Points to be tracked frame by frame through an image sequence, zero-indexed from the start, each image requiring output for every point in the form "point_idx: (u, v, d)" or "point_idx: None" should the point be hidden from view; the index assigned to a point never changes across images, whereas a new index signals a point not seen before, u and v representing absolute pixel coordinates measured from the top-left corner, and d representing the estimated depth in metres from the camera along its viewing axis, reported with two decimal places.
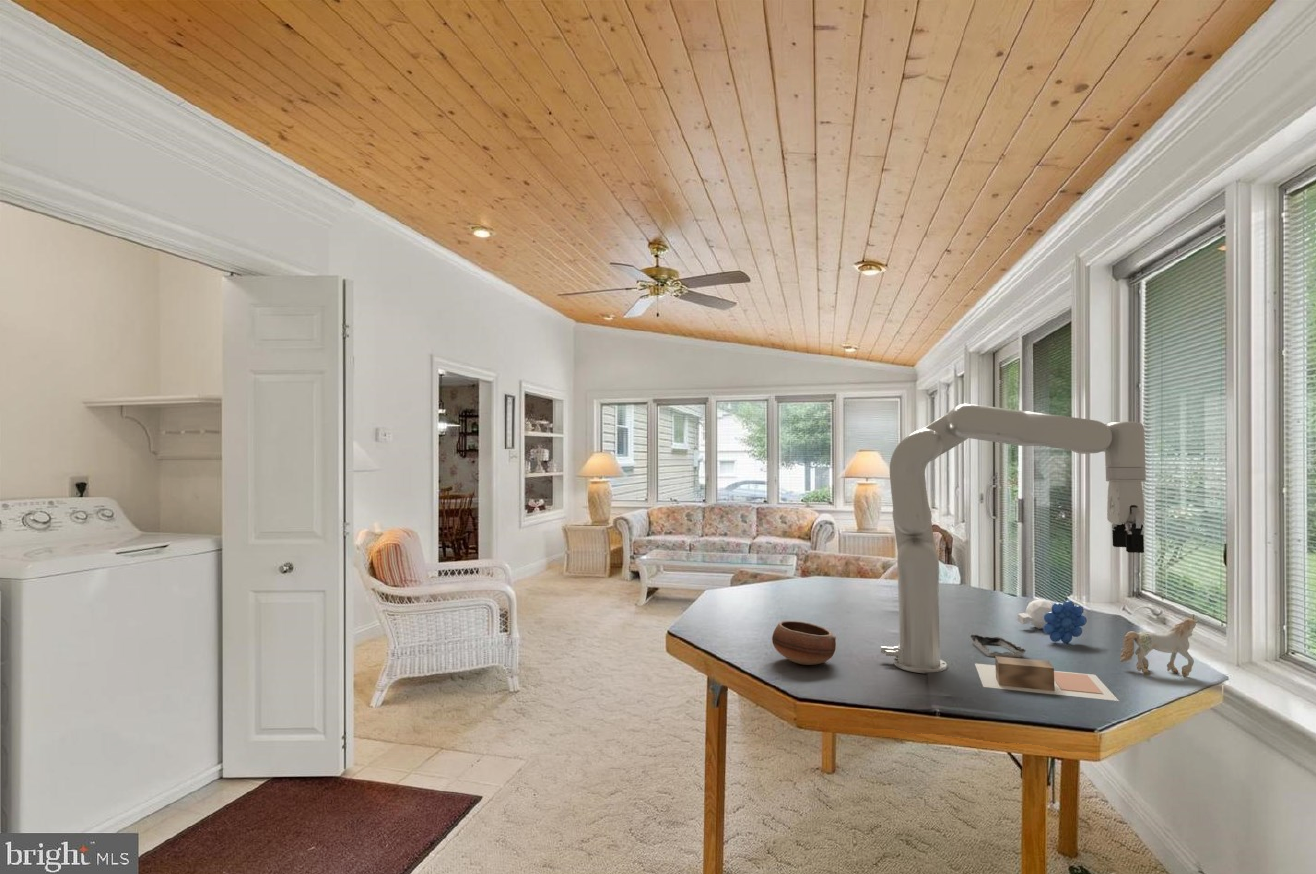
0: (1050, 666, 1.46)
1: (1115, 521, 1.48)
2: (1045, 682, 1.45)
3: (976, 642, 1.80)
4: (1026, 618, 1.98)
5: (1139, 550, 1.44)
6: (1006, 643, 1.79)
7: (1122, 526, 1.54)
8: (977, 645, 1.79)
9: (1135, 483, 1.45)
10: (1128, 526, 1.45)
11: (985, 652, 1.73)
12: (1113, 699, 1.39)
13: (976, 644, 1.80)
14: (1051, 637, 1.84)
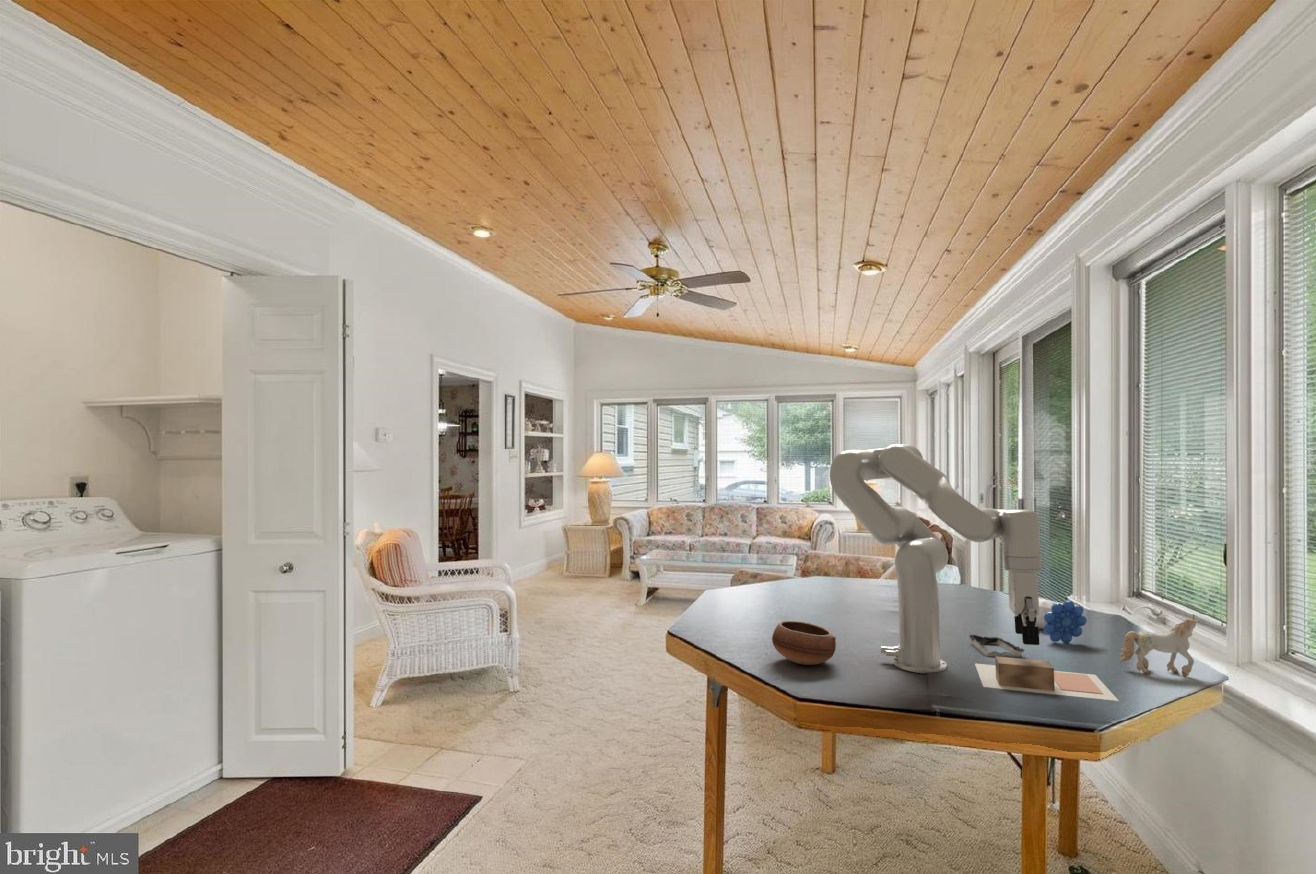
0: (1050, 666, 1.46)
1: (1013, 611, 1.48)
2: (1045, 682, 1.45)
3: (975, 642, 1.80)
4: None
5: (1035, 642, 1.43)
6: (1005, 643, 1.79)
7: None
8: (976, 645, 1.79)
9: (1029, 574, 1.45)
10: (1023, 618, 1.44)
11: (984, 652, 1.74)
12: (1113, 699, 1.39)
13: (975, 644, 1.80)
14: (1051, 637, 1.84)
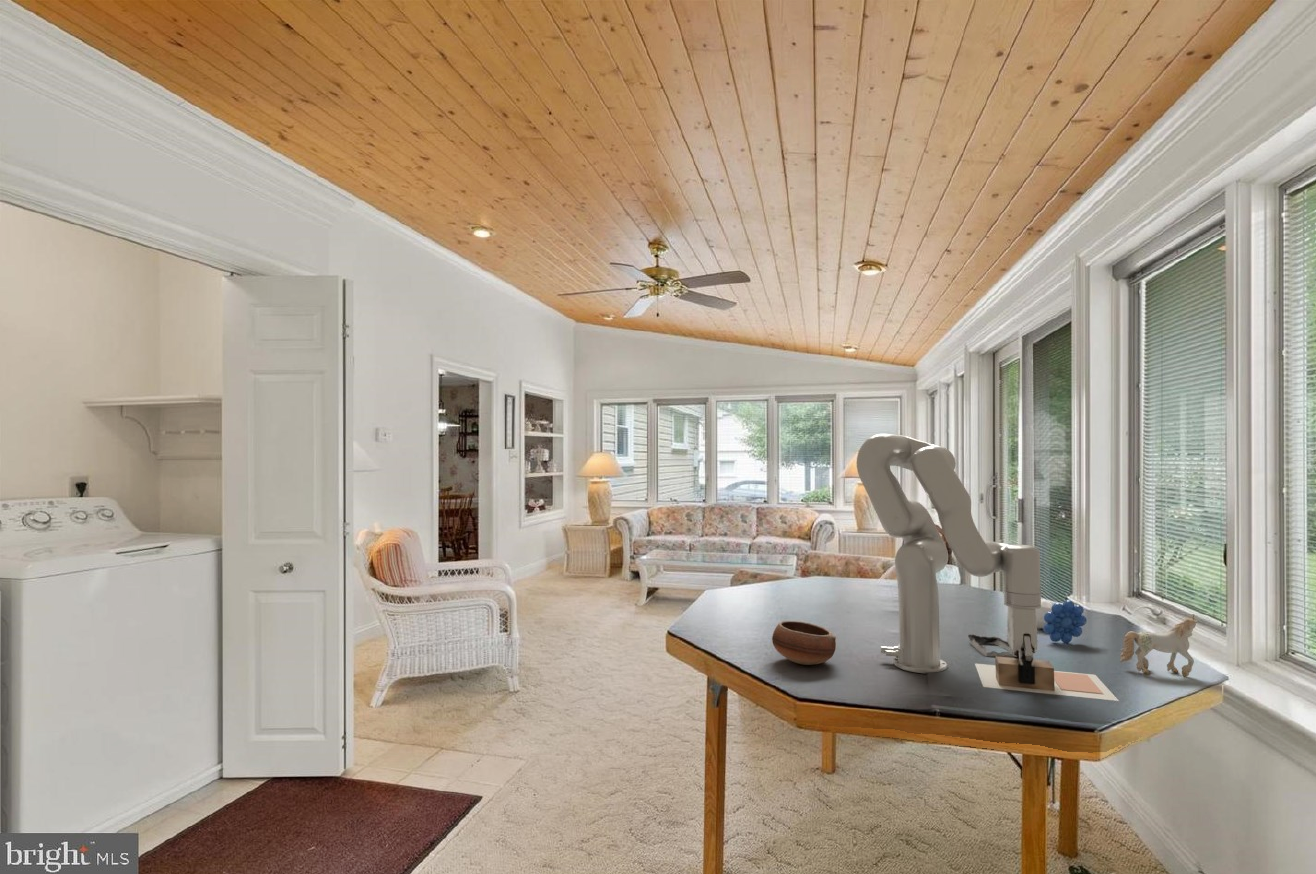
0: (1050, 666, 1.46)
1: (1011, 646, 1.48)
2: (1045, 682, 1.45)
3: (973, 642, 1.80)
4: None
5: (1030, 681, 1.45)
6: (1003, 643, 1.79)
7: (1023, 653, 1.52)
8: (975, 645, 1.79)
9: (1029, 611, 1.45)
10: (1020, 657, 1.46)
11: (982, 652, 1.74)
12: (1113, 699, 1.39)
13: (973, 644, 1.80)
14: (1051, 637, 1.84)
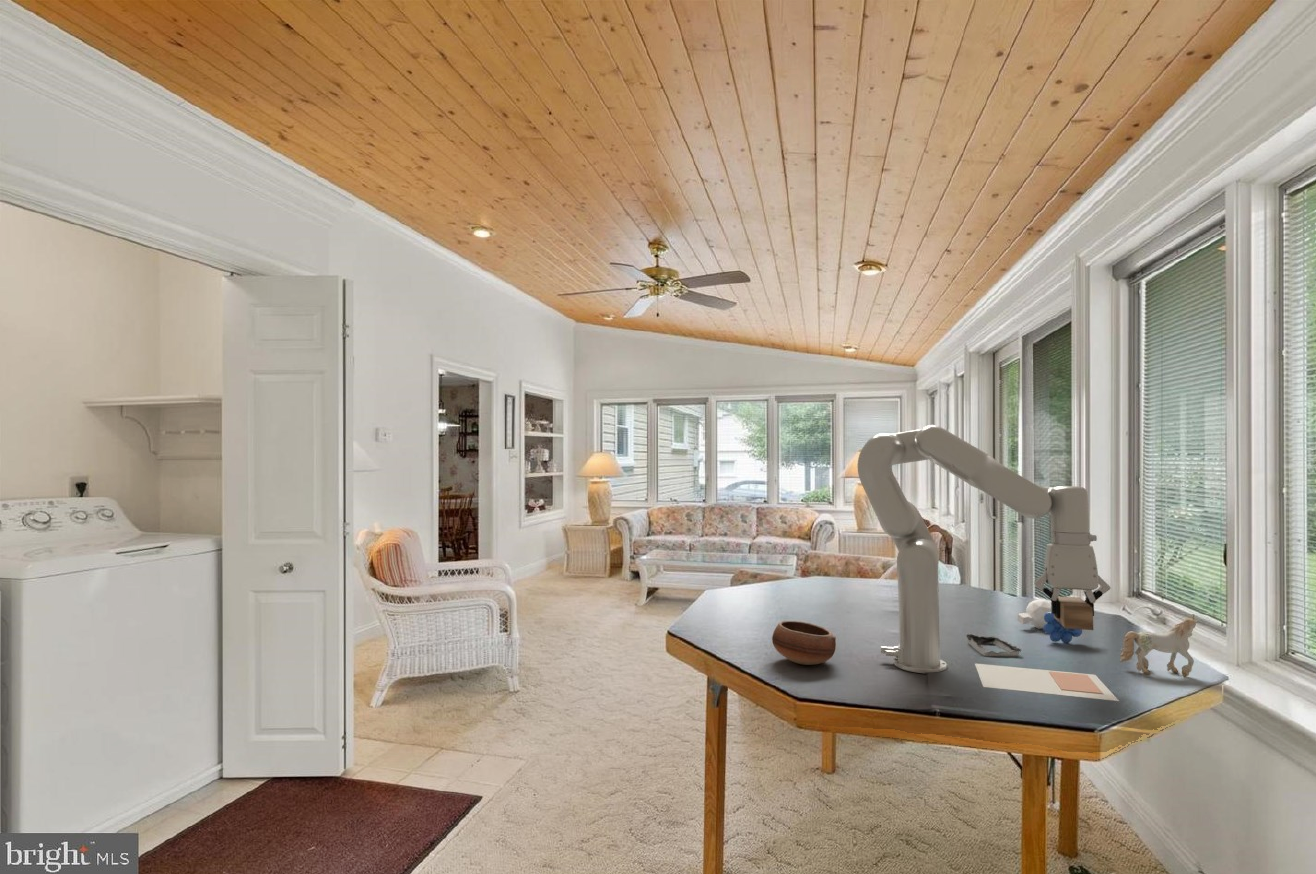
0: (1069, 605, 1.46)
1: None
2: (1062, 619, 1.47)
3: (972, 642, 1.80)
4: (1026, 618, 1.98)
5: (1056, 615, 1.50)
6: (1001, 643, 1.80)
7: None
8: (973, 645, 1.79)
9: (1049, 546, 1.51)
10: None
11: (981, 652, 1.74)
12: (1113, 699, 1.39)
13: (972, 644, 1.81)
14: (1051, 637, 1.84)
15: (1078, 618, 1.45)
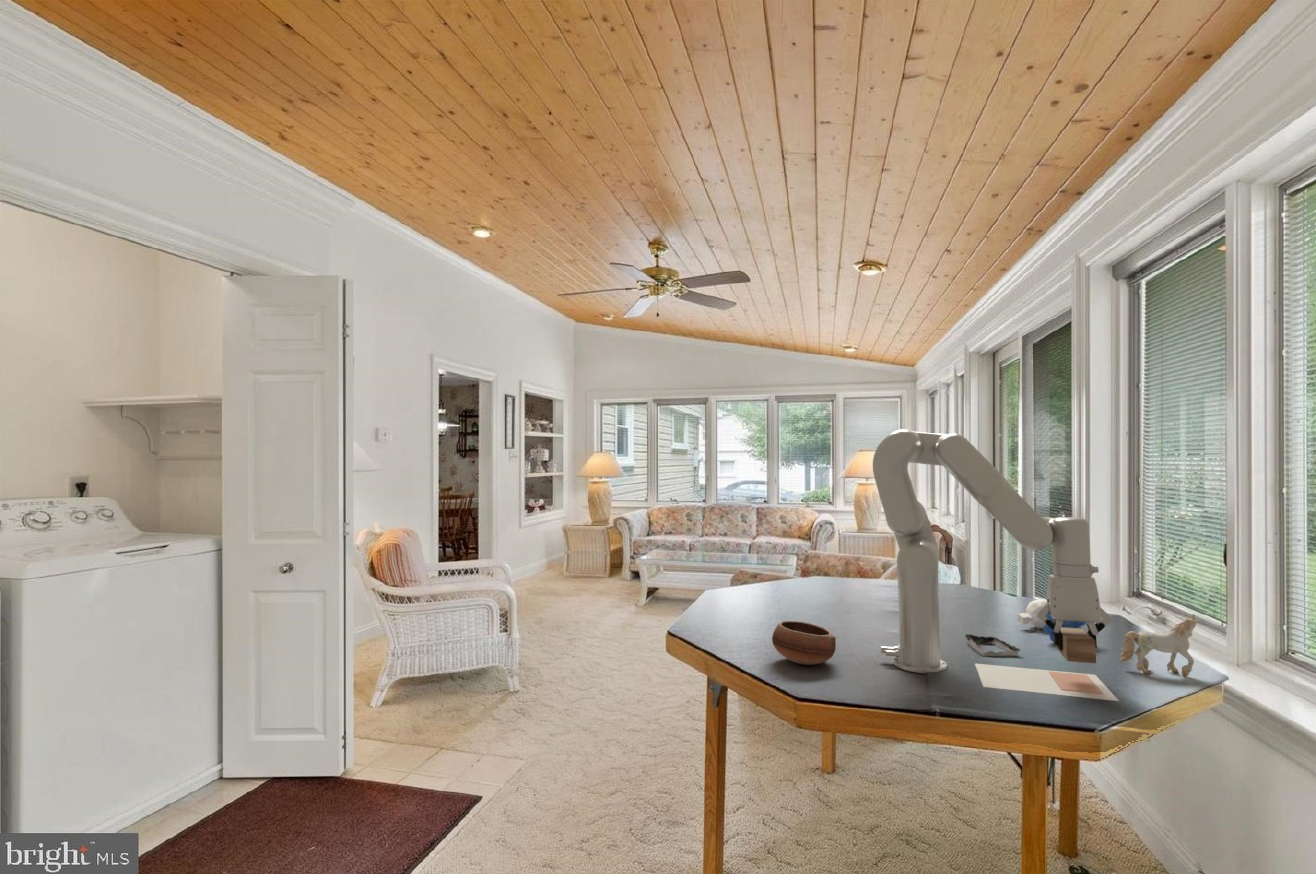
0: (1071, 638, 1.46)
1: None
2: (1065, 651, 1.47)
3: (971, 642, 1.81)
4: (1026, 618, 1.98)
5: (1059, 647, 1.50)
6: (1000, 643, 1.80)
7: (1090, 630, 1.48)
8: (972, 645, 1.80)
9: (1050, 578, 1.51)
10: None
11: (980, 652, 1.74)
12: (1113, 699, 1.39)
13: (971, 644, 1.81)
14: (1051, 637, 1.84)
15: (1081, 651, 1.44)
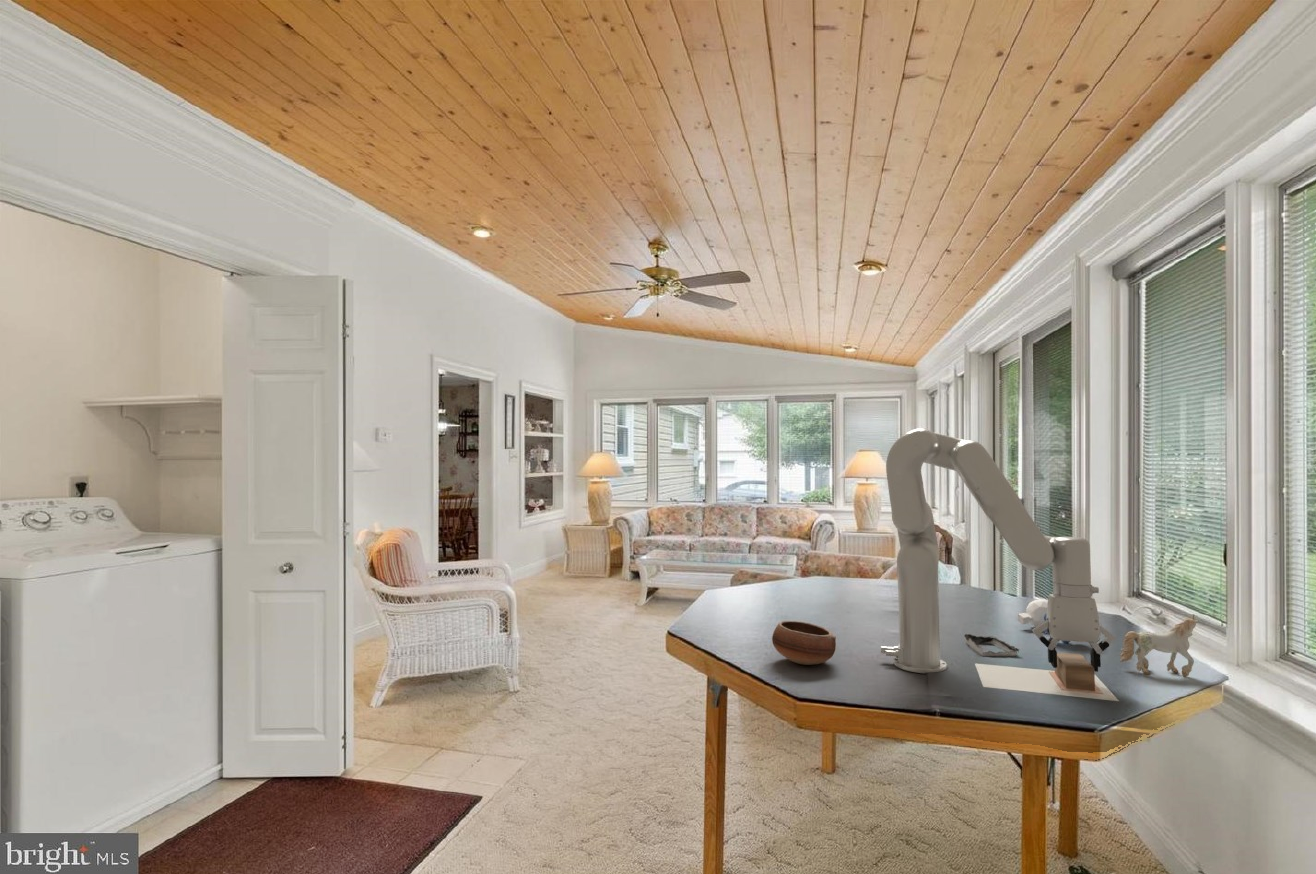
0: (1070, 665, 1.45)
1: None
2: (1064, 678, 1.47)
3: (970, 641, 1.81)
4: (1026, 618, 1.98)
5: (1053, 664, 1.50)
6: (999, 643, 1.80)
7: None
8: (971, 645, 1.80)
9: (1050, 597, 1.51)
10: (1048, 639, 1.53)
11: (979, 651, 1.74)
12: (1113, 699, 1.39)
13: (970, 643, 1.81)
14: None
15: (1079, 678, 1.44)
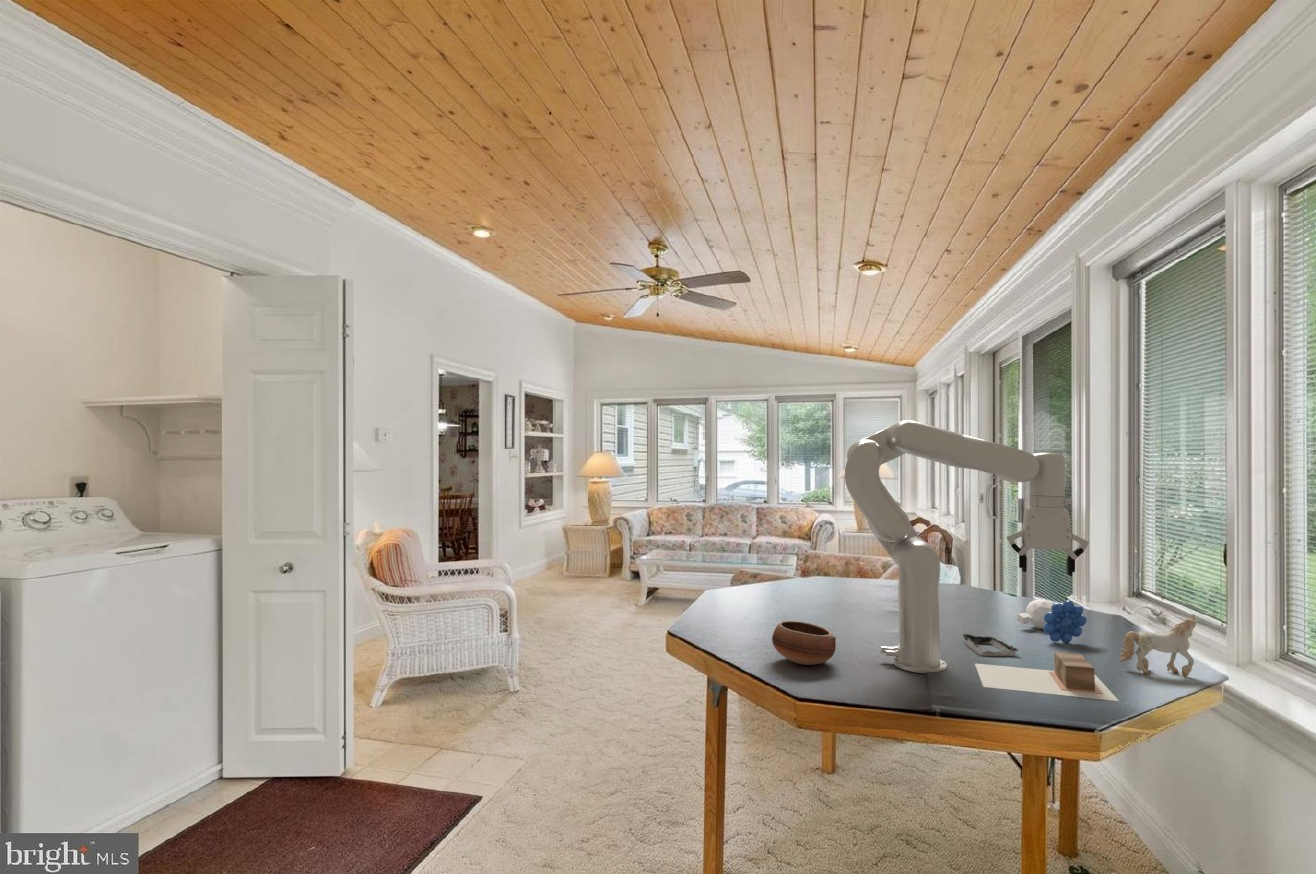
0: (1070, 665, 1.45)
1: None
2: (1064, 678, 1.47)
3: (968, 641, 1.81)
4: (1026, 618, 1.98)
5: (1022, 569, 1.60)
6: (998, 643, 1.80)
7: None
8: (970, 645, 1.80)
9: (1026, 509, 1.61)
10: None
11: (978, 651, 1.74)
12: (1113, 699, 1.39)
13: (968, 643, 1.81)
14: (1051, 637, 1.84)
15: (1079, 678, 1.44)
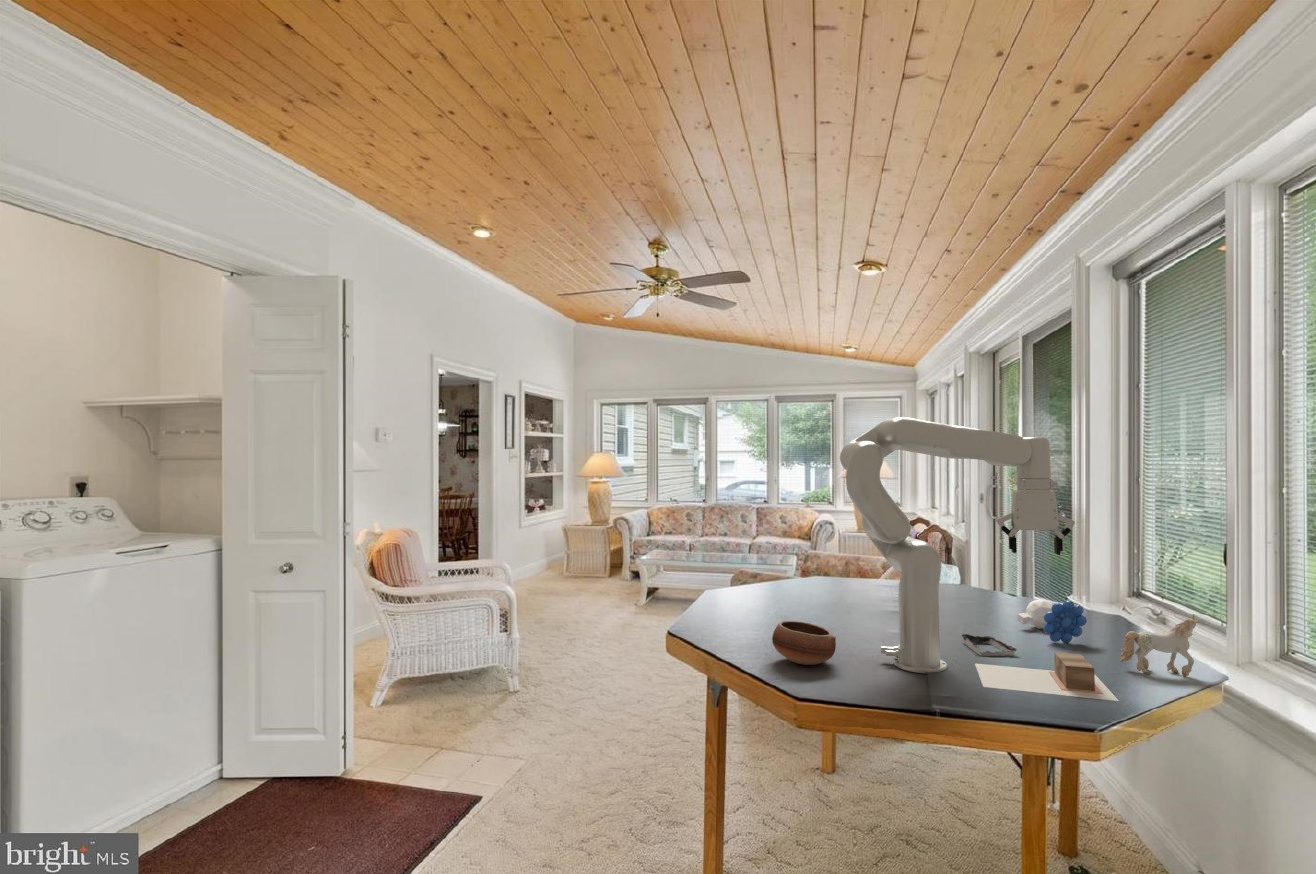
0: (1070, 665, 1.45)
1: None
2: (1064, 678, 1.47)
3: (967, 641, 1.81)
4: (1026, 618, 1.98)
5: (1013, 550, 1.65)
6: (997, 642, 1.80)
7: None
8: (969, 645, 1.80)
9: (1014, 492, 1.66)
10: None
11: (977, 651, 1.74)
12: (1113, 699, 1.39)
13: (967, 643, 1.81)
14: (1051, 637, 1.84)
15: (1079, 678, 1.44)
